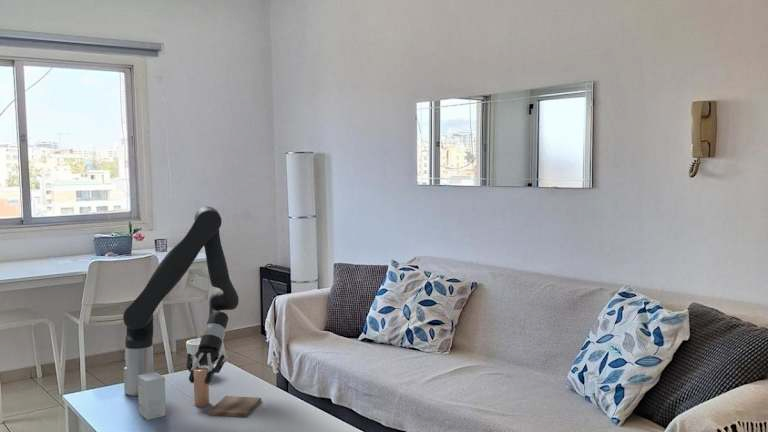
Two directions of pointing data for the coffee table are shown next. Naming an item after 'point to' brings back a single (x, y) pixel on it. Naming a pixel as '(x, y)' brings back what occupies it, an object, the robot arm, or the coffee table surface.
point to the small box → (151, 395)
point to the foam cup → (194, 348)
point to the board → (235, 406)
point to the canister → (201, 387)
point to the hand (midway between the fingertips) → (199, 382)
